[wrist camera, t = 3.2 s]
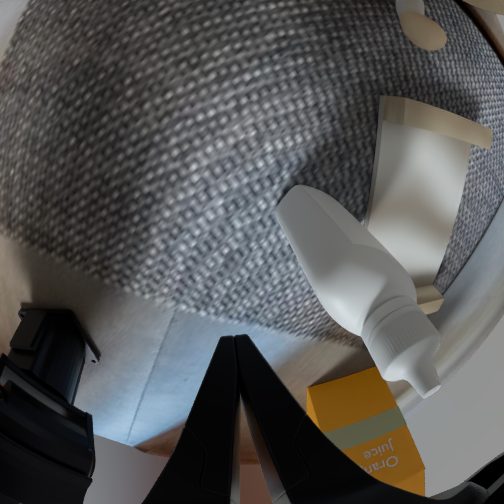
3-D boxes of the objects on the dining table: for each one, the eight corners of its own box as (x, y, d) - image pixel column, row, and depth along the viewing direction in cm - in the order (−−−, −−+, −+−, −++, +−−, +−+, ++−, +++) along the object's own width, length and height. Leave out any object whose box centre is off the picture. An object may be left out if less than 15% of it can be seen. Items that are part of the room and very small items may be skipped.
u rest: (424, 294, 22) (438, 310, 20) (344, 309, 21) (355, 331, 19) (468, 122, 13) (492, 130, 11) (379, 95, 12) (405, 97, 10)
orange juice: (306, 387, 27) (354, 548, 10) (378, 364, 27) (441, 507, 10) (306, 412, 31) (342, 541, 14) (367, 393, 31) (413, 512, 14)
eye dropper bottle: (334, 164, 14) (505, 302, 4) (356, 240, 17) (464, 386, 7) (265, 195, 15) (364, 396, 5) (298, 268, 18) (373, 440, 8)
